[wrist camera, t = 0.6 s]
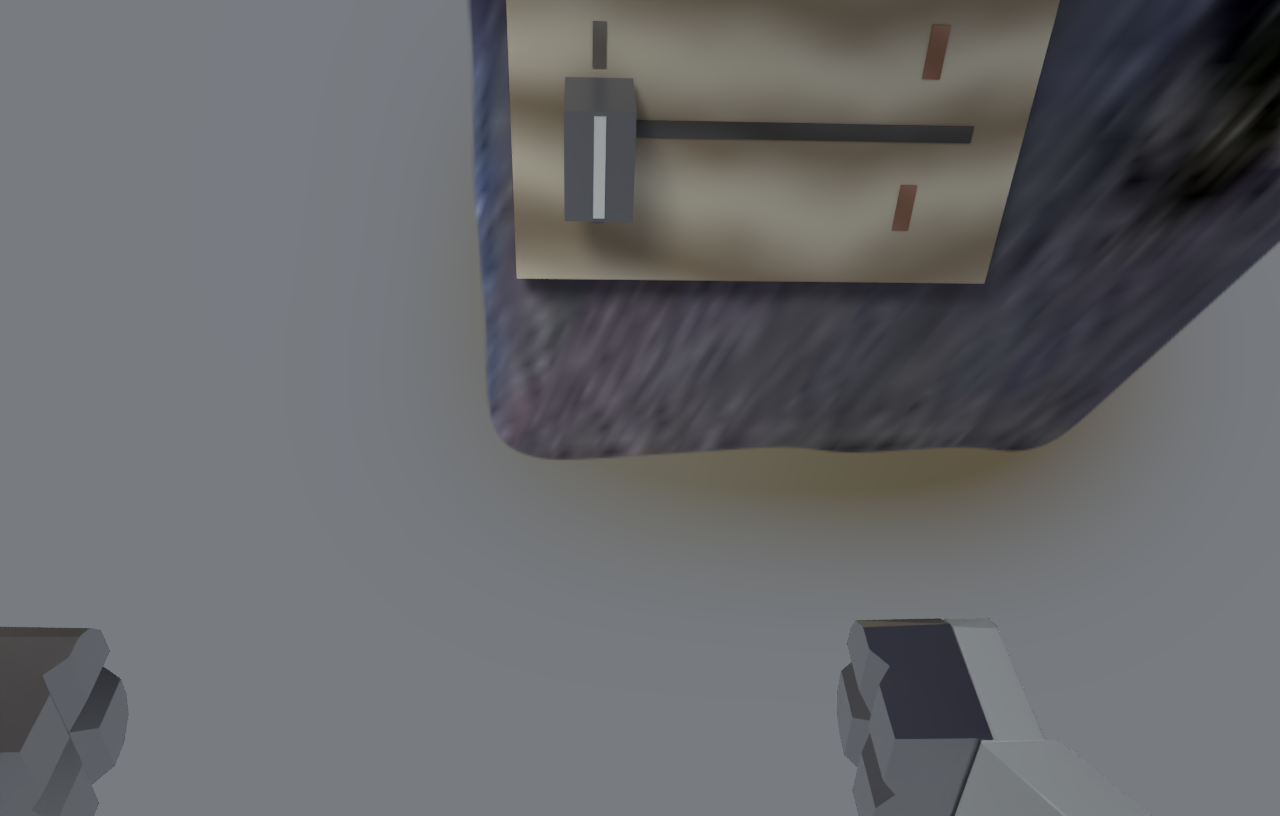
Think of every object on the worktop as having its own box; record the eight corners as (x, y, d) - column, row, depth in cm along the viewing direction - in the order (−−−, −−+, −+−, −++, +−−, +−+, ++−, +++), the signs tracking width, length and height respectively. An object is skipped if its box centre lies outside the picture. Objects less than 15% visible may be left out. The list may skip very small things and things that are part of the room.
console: (506, -73, 45) (503, -60, 43) (1055, -56, 46) (1072, -44, 45) (518, 259, 55) (516, 279, 53) (972, 264, 56) (984, 284, 54)
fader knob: (565, 76, 46) (563, 111, 43) (633, 78, 47) (636, 113, 43) (565, 182, 49) (564, 222, 46) (629, 183, 50) (632, 223, 46)
